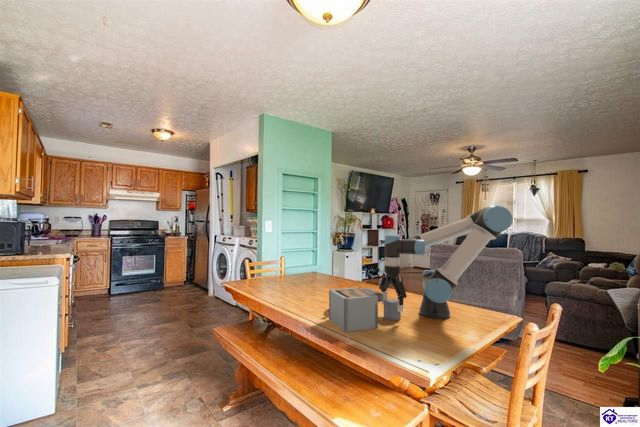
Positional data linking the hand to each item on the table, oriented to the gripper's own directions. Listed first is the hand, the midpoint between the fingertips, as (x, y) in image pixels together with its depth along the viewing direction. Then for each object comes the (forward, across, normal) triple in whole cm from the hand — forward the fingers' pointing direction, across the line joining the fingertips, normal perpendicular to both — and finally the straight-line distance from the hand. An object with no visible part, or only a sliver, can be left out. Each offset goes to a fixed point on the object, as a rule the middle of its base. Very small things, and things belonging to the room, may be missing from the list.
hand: (392, 307), depth 151 cm
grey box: (+5, 0, -22) cm, 23 cm away
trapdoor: (-6, 0, -18) cm, 19 cm away
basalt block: (+5, 0, 0) cm, 5 cm away
